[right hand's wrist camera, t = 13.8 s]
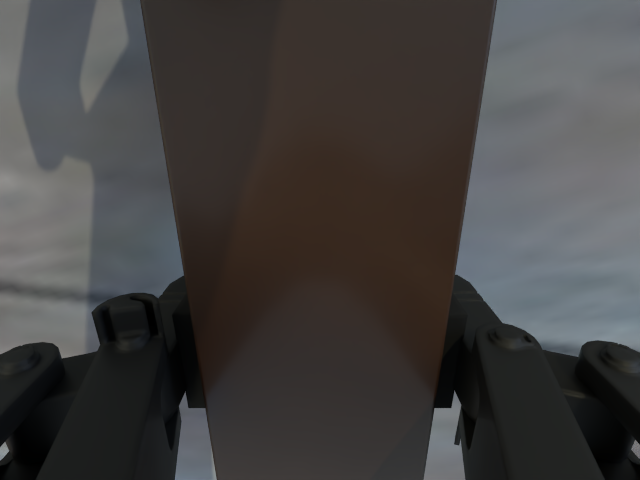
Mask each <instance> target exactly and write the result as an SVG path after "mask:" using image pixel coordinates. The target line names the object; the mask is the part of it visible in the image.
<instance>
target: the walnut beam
mask: <svg viewBox="0 0 640 480" xmlns="http://www.w3.org/2000/svg"><path fill="white" fill-rule="evenodd" d="M140 2H141V8H142V14H143V20H144V27H145V33H146V39H147V45H148V52H149V58H150V64H151V70H152V77H153V83H154V89H155V95H156V102H157V108H158V114H159V120H160V127H161V133H162V139H163V145H164V152H165V158H166V164H167V171H168V177H169V183H170V189H171V196H172V202H173V208H174V214H175V221H176V227H177V233H178V239H179V246H180V252H181V258H182V264H183V271H184V277H185V283H186V289H187V296H188V302H189V308H190V314H191V321H192V327H193V333H194V339H195V346H196V352H197V358H198V364H199V371H200V377H201V383H202V389H203V396H204V402H205V408H206V414H207V421H208V427H209V433H210V440H211V446H212V452H213V458H214V465H215V471H216V477H217V480H423V479H424V472H425V466H426V459H427V453H428V446H429V440H430V433H431V427H432V420H433V414H434V407H435V401H436V394H437V388H438V381H439V375H440V368H441V361H442V355H443V348H444V342H445V335H446V329H447V322H448V316H449V309H450V303H451V296H452V290H453V283H454V277H455V270H456V264H457V257H458V251H459V244H460V238H461V231H462V225H463V218H464V212H465V205H466V199H467V192H468V186H469V179H470V173H471V166H472V159H473V153H474V146H475V140H476V133H477V127H478V120H479V114H480V107H481V101H482V94H483V88H484V81H485V75H486V68H487V62H488V55H489V49H490V42H491V36H492V29H493V23H494V16H495V10H496V3H497V0H140Z"/></svg>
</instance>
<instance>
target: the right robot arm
mask: <svg viewBox="0 0 640 480" xmlns="http://www.w3.org/2000/svg"><path fill="white" fill-rule="evenodd" d="M92 316H93V320H94V323H95V327H96V331H97V334H98V338H99V341H100V347H99V349H98V351H96V352H93V353H88V354H83V355H78V356H73V357H68V358H63V359H62V358H61V355H60V352H59V349H58V347H57V346H55V345H54V344H52V343H45V342H40V343H32V344H25V345H23V346H18V347H15V348H13V349H11V350H9V351H7V352H5V353H3V354H1V355H0V447H1V445H2V444H3V443H4V442H6V444H7V447H8V449H9V452H8V453H7V454H6V456H5V457H4V458H3V459H2V460H1V461H0V480H175V472H176V463H177V454H178V446H179V437H180V429H181V416H180V410H179V404H180V402H181V400H182V398H183V395H184V393H185V391H186V396H187V402H188V408H205V402H204V396H203V389H202V383H201V377H200V371H199V364H198V358H197V352H196V346H195V339H194V333H193V327H192V321H191V314H190V308H189V302H188V296H187V289H186V283H185V277H184V276H182V277H180V278H179V279H177V280H176V281H174V282H172V283H171V284H170V285H169V286H168V287H167V288H166V290H165V291H164V292H163V295H161V296H160V297H159V298H157V297H155V296H154V295H152V294H147V293H131V294H126V295H121V296H118V297H115V298H112V299H109V300H107V301H105V302H104V303H102V304H100V305H99V306H97V307H96V308H95V309H94V311H93V312H92ZM454 390H455V392H456V394H457V396H458V398H459V401H460V403H461V410H460V415H459V421H458V426H457V431H456V436H455V443H454V444H455V445H459V443H460V438H461V445H462V453H463V462H464V471H465V479H466V480H640V459H639V458H638V457H637V456H636V455H635V454H634V453H633V451H632V450H631V448H632V446H633V444H634V441H635V440H636V441H637V442H638V443H639V444H640V353H639V352H637V351H635V350H633V349H630V348H629V347H627V346H624V345H621V344H618V343H614V342H606V341H590V342H587V343H585V344H584V345H583V346H582V348H581V351H580V354H579V357H575V356H570V355H565V354H560V353H555V352H550V351H546V350H542V348H541V346H540V344H539V343H538V342H537V340H536V339H535V338H534V337H533V336H532V335H530V334H529V333H527V332H526V331H524V330H522V329H520V328H517V327H515V326H512V325H508V324H504V323H502V322H501V321H500V319H499V318H498V317H497V316H496V315H495V313H494V312H493V311H492V310H491V308H490V307H489V306H488V305H487V303H486V302H485V301H483V298H482V297H481V296H480V295H479V294H477V291H476V290H475V288H474V287H473V286H472V285H471V284H470V282H468V281H466V280H465V279H463V278H461V277H460V276H458V275H455V277H454V283H453V290H452V296H451V303H450V309H449V316H448V322H447V329H446V335H445V342H444V348H443V355H442V361H441V368H440V375H439V381H438V388H437V394H436V401H435V407H434V408H451V406H452V401H453V395H454Z"/></svg>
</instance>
